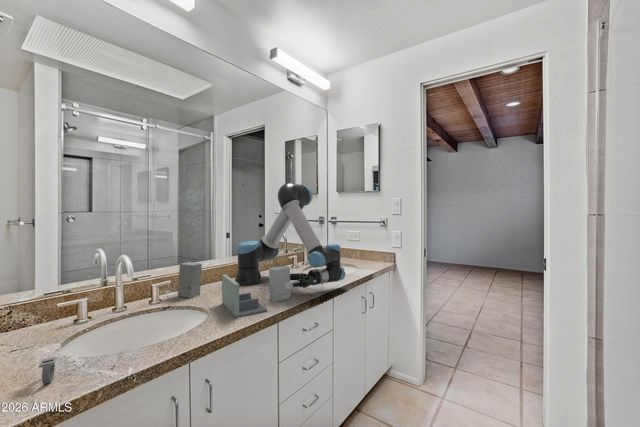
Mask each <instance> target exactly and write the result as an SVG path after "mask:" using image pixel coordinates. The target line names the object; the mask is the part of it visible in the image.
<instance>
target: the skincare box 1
mask: <svg viewBox="0 0 640 427" xmlns="http://www.w3.org/2000/svg"><path fill="white" fill-rule="evenodd" d="M202 268H203V264H202V263H201V262H200V263H199V262H192V261H187V262H182V263H179V270H178V285H177V297H178V296H182V297H181V298H185V297H187V299H192V298H191V297H193V298H195V297H194V296H196V297H198V296H197V295H199V296H200V295H201V289H202V288H201V286H202V283H201V282H202Z"/></svg>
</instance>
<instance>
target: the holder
mask: <svg viewBox="0 0 640 427" xmlns="http://www.w3.org/2000/svg"><path fill="white" fill-rule="evenodd" d="M221 304H222V306H224V308H225V309H226V310H227V311H228V312H229V313H230V314H231V315H232V316H233V317H234V319H238V318H242V317H246V316H251V315H257V314H261V313H262V314H263V313H266V312H268V308H266V307H265V306H263V305H262V304H261V303H260V302H259V298H258V297H256V298H253V297H252V293H251V292H245V293H240V285H239V284H238V283H237V282H236V281H235V279H233V278H231V277H230V276H228V275H227V274H222V275H221Z"/></svg>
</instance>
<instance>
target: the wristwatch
mask: <svg viewBox="0 0 640 427" xmlns="http://www.w3.org/2000/svg"><path fill="white" fill-rule="evenodd" d="M57 360H58V356H52V357H48V358H44V359H42V360H41V361H40V363H39V365H38V369H41V370H42V371H41V383H42V384H43V385H46V384H50V383H52V382H53V381H54V380H53V379H54V376H55V367H56V365H55V364H56V362H57Z"/></svg>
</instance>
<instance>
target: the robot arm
mask: <svg viewBox="0 0 640 427" xmlns="http://www.w3.org/2000/svg"><path fill="white" fill-rule="evenodd" d="M277 200H278V201H277V202H278V203H279V207H280V209H281V210H280V212H279V213H278V215H277V217H276V219H275V220H274V222H273V223H272V224H271V227H270V229H269V230H268V231H267V234H266V235H263V236H261V239H260V241H258V240H247V241H242V242H240V243H239V244H238V246H237V271H236V275H235V278H234V281H236V282H237V283H238V284H239V287H242V286H243V287H248V286H249V287H250V286H256V285H259V284H262V283H263V277H262V275H261V274H262V273H261V271H260V267H259V266H260V263H262V262H268V261H271V260H274V259H276V258H277V257H278V255H279V253H280V241H281V239H282V238H283V237H284V235H285V233H286V231H287V229H288V228H289V226H290V225H291V224H292V227H293V228H294V229H295V232H296V233H297V235H298V237H299V239H300V240H301V242H302V244H303V246H304V247H305V250H306V252H307V253H308V257H307V260H308V261H307V262H308V264H309V266H310V267H312V268H315V269H310V270H309V271H308V273H303V272H301V273H290V282H286V283H285V289H289V288H290V289H294V288H299V287H300V288H303V289H305V288H307V287H310V286H317V285H320V284H321V285H324V284H328V283H334V282H340V281H342V280H344V279H345V277H346V272H345V268H344V267H343V266H342V265H341V245H340V244H339V243H328V244H326V245H325V248H324V247H323V246H322V244H321V242H320V241H319V239H318V237H317V234H316V233H315V231H314V230H313V227H312V226H311V224H310V222H309V220H308V219H307V217H306V215H305V214H304V212H303V209H304V207H306V206H308V205H310V204H311V202H312V201H313V192H312V190H311V188H310V187H309V186H307V185H305V184H297V183H291V182H287V183H284V184H282V185H281V186H280V187H279V189H278V192H277ZM324 266H325V267H324ZM323 267H324V268H323Z"/></svg>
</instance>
